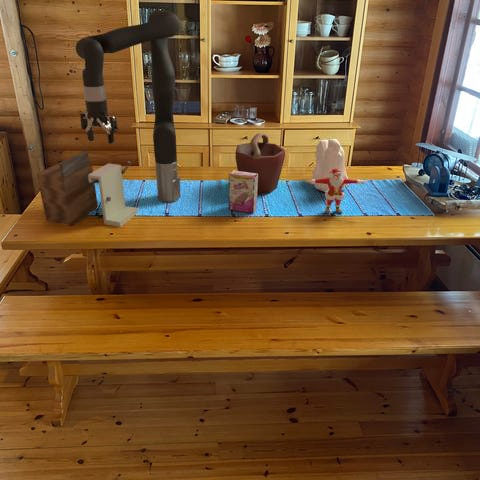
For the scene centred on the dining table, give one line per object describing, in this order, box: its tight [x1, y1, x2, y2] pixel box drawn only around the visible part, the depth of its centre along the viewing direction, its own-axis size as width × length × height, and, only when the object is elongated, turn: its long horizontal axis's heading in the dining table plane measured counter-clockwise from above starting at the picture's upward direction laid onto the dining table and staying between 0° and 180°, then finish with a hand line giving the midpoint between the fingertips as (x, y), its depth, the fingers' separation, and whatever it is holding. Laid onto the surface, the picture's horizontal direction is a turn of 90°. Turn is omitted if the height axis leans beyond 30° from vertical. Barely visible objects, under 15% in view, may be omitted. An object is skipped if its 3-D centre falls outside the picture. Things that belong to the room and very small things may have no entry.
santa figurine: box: [304, 169, 367, 214], centre depth 198 cm, size 25×6×19 cm, turn 90°
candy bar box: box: [228, 169, 258, 214], centre depth 199 cm, size 11×5×16 cm, turn 71°
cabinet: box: [36, 150, 99, 227], centre depth 191 cm, size 12×18×25 cm, turn 161°
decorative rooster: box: [311, 138, 349, 192], centre depth 221 cm, size 25×16×25 cm, turn 2°
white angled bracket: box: [88, 162, 139, 227], centre depth 190 cm, size 12×14×20 cm
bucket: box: [235, 133, 286, 195], centre depth 219 cm, size 24×22×25 cm
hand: (101, 141), depth 181 cm, fingers open, 8 cm apart
